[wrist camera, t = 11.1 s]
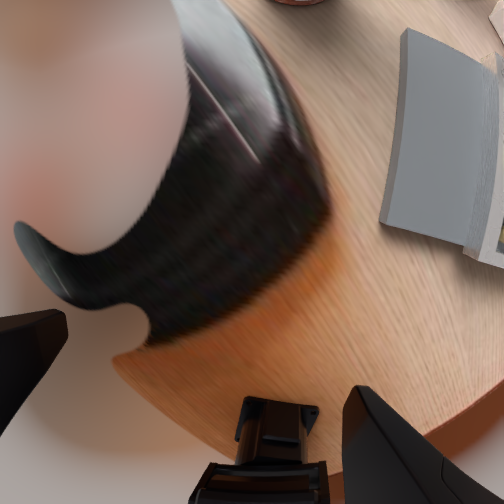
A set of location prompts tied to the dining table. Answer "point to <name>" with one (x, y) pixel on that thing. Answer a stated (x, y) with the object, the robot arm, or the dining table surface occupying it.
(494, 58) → the white slotted frame
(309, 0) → the supplement bottle
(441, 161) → the post base
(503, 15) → the jar
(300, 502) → the robot arm
